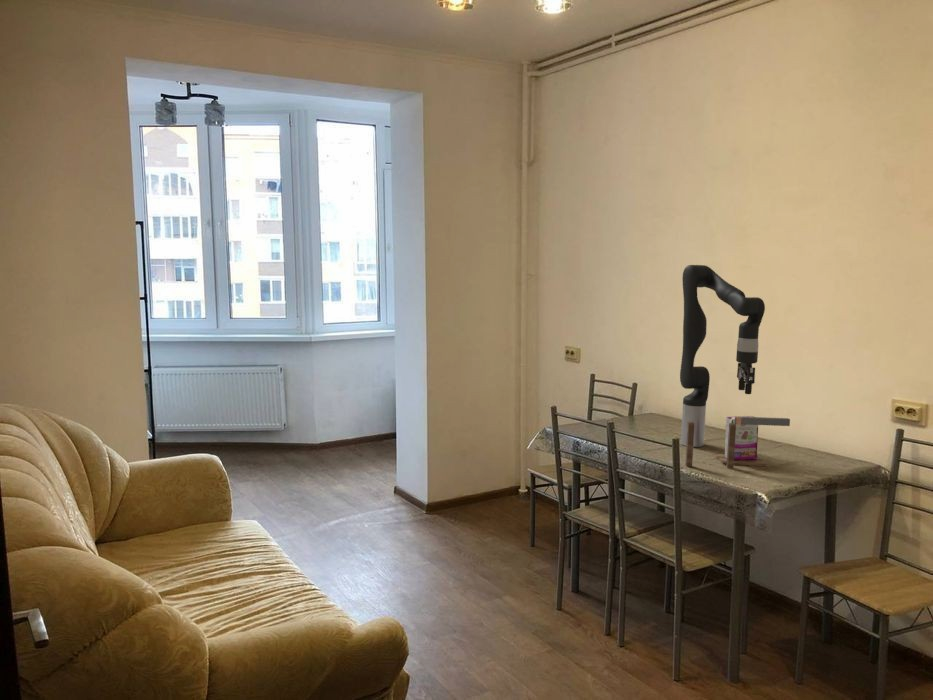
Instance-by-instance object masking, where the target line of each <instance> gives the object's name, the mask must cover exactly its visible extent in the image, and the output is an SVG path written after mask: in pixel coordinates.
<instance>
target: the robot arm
mask: <svg viewBox="0 0 933 700" xmlns="http://www.w3.org/2000/svg"><path fill="white" fill-rule="evenodd" d="M698 288H706V289H710V290H712V291H714V292H715V294H716V296H717V298H718V299H719V300H721V302H724V303H725V304H727V305H728V306H730V307H731V308H732V309H733V311H734V312H735V313H736V314H737V315H740V316H742V317H747V319H746V321H744V322H741V323H739V325H738V335H737V336H738V337H737V343H736V356H735V357H736V358H735V359H736V360H735V361H736V362H737V371H736V372H737V373H736V378H737V380H738V387H737V388H738V390H739V391H744V394H745V395H751V394H752V389H753V384H755V379H756V378H755V377H756V367H753V364H758V357H759V354H758V353H759V331H760V326H761V323H762V321H763V317H764V314H765V311H766V306H765V302H764V300H763V298H760V297H755V296H754V297H752V296H751V297H750V296H749V297H748V296H747V297H746V294H745V292H744V291H742V290H741V289H739V288H738V287H736V286H734V285H732V284H731V283H729V282H728V281H726V280H725V279H724V278H722V277H721V276H720V275H719V274H718V273H716V272H715V271H714V270H713V269H712V268H711V267H710V266H708V265H705V264H704V265H703V264H689V265H686V266H685V268H684V270H683V272H682V292H683V322H682V323H683V325H682V327H683V328H682V352H681V355H682V356H681V362H680V363H681V364H680V371H679V378H680V379H679V381H680V384H681V387H682V388H684V389H686V390H692V392H690V393H689V394H687V395H685V396H684V397H683V398H682V412H681V414H682V417H681V432H680V433H681V437H680V445H682V446H685V447H687V428H688V422H694V441H693V448H700V447H701V448H702V447H704V446H705V445H704V444H705V429H706V411H707V401H708V397H709V391H710V378H711V377H710V376H711V375H710V371H709V370H708V368H707V367H705V366H701V365H700V366H699V365H698V366H695V357H696V354H697V352H698V351H699V349H700V347H702V345H703V342H704V341H705V339H706V336H707V317H706V314H705V311H704V309H703V308H702V306H701V304H700V302H699V299H698Z"/></svg>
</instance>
